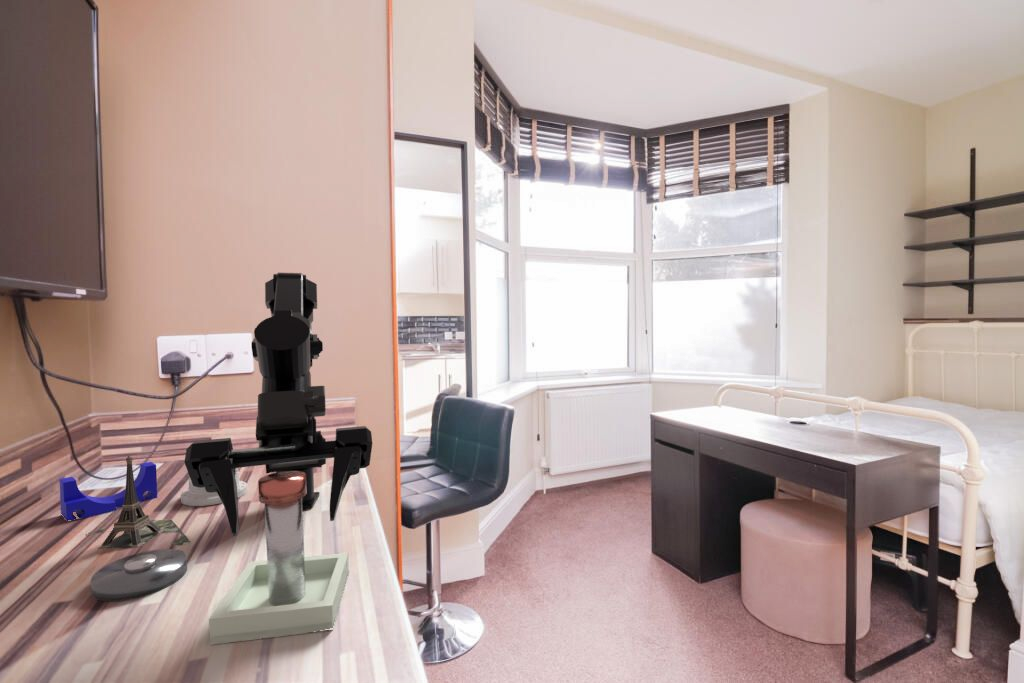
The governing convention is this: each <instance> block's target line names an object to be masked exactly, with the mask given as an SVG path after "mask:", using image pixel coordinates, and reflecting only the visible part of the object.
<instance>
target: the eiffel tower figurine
mask: <svg viewBox="0 0 1024 683" xmlns="http://www.w3.org/2000/svg"><path fill="white" fill-rule="evenodd" d="M125 462H126V476H125V478H126V479H125V489H126V491H125V499H124V504H123V505H122V506H121V507H122V508H121V511H120V513H119V517H118V519H117V521H115V522H114V523H113V527H114V528H113V530H112V531H109V532H110V533H109V534H108V535H107V537H106V538H105V539H104V541H103V542H102V544H101V545H100V546H99V547H97V549H98V550H99V549H101V550H102V549H127V548H128V549H129V548H131V549H133V548H136V549H137V548H140V547H142V546H143V545H144V544H146V543H148V542H149V541H151V540H153V539H154V538H156V537H157V536H159V535H160V534H180V536H179V538H178V539H176V540H175V541H173V542H172V543H171V545H172V546H178V547H179V546H180V547H181V546H184V545H186V544H190V543H191V540H190V539H189V538H188V537H187V535H186V534H185V533H184V532H183V531H182V530H181V529H180V527H178V525H177V524H176V523H175V522H174V520H173V519H153V520H152V519H150V518H149V516H150V515H149V514H145V512H144V510H143V509H142V506H141V504H140V503H141V502H140V501H138V498H137V495H136V490H135V483H134V480H135V478H134V477H135V476H134V470H133V457H132V456H131V455H128V456H127V457H126V458H125ZM106 529H107V528H103V529H99V530H97V529H96V530H93V531H90V532H87V533H88V534H93V535H96V534H95V533H97V534H100V533H104V532H103V531H105V530H106ZM121 532H122V533H121ZM120 533H121V534H120ZM118 534H120V535H119V536H117V535H118ZM116 536H117V537H116Z"/></svg>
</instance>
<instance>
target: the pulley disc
mask: <svg viewBox="0 0 1024 683" xmlns="http://www.w3.org/2000/svg"><path fill="white" fill-rule="evenodd" d="M187 572H188V555H187V553H186V552H185V551H183V550H180V549H171V548H167V549H166V548H164V549H154V550H148V551H144V552H138V553H134V554H132V555H129V556H125V557H123V558H120V559H117V560H115V561H112V562H110V563H109V564H107V565H105V566H103V567H101V568H100V569H98V570H97V571H96V572H95V573H94V574H92V576H91V578H90V593H91V597H92V598H93V599H94V600H96V601H101V602H120V601H126V600H127V601H128V600H133V599H137V598H140V597H144V596H147V595H151V594H153V593H155V592H156V593H157V592H158V591H160V590H163V589H165V588H168V587H170V586H171V585H173V584H174V583H176V582H177V581H179V580H180V579H182V578H183V577H184V576H185V574H186V573H187Z"/></svg>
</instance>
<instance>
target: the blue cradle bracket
mask: <svg viewBox="0 0 1024 683" xmlns="http://www.w3.org/2000/svg"><path fill="white" fill-rule="evenodd" d="M157 475H158V474H157V464H155V463H154V462H152V461H147V462H141V463H140V467H139V472H138V473H137V475H136V477H135V478H134V483H135V490H136V495H137V498H138V501H140V503H142V502H145V501H149V500H154V499H157V498H158V483H157ZM125 491H126V488H125V489H123V490H122V491H119V492H117V493H115V494H112V495H108V496H101V497H99V496H98V497H97V496H90V495H88V494H85V493H84V492H82V491H80V488H79V487H78V483H77V480H76V479H75V477H73V476H68V477H64V478H59V497H60V498H59V499H60V500H59V501H60V503H59V504H60V515H61V514H62V515H63V516H64V518H65V519H66V520H67V521H68V520H74V519H76V517H75V516H74V515H73V512H76V514H77V516H78V517H79V518H83V519H85V518H84V517H87V518H91V517H95V516H98V514H99V515H103V514H107V513H111V511H112V512H115V511H117V508H120V507H122V505H123V504H124V499H125ZM145 493H146V494H145ZM116 507H117V508H116ZM94 515H95V516H94ZM90 516H91V517H90ZM64 518H63V519H64Z"/></svg>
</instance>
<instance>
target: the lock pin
mask: <svg viewBox="0 0 1024 683" xmlns="http://www.w3.org/2000/svg"><path fill="white" fill-rule="evenodd" d="M257 487H258V502H260V504H261V503H262V504H263V505H264V518H265V519H264V520H265V523H264V524H265V541H266V542H265V544H266V560H267V567H268V589H269V603H270V604H271V605H273V606H280V605H289V604H293V603H296V602H298V601H299V600H301V599H302V598H303V597H304V596H305V594H306V584H305V560H304V557H305V542H304V539H305V538H304V516H303V515H304V514H303V509H302V497H304V496H305V495H306V494H307V487H306V473H305V472H302V471H283V472H277V473H276V472H272V473H268V474H266V475H264V476H262V477H260V478H259V479H258V482H257Z"/></svg>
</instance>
